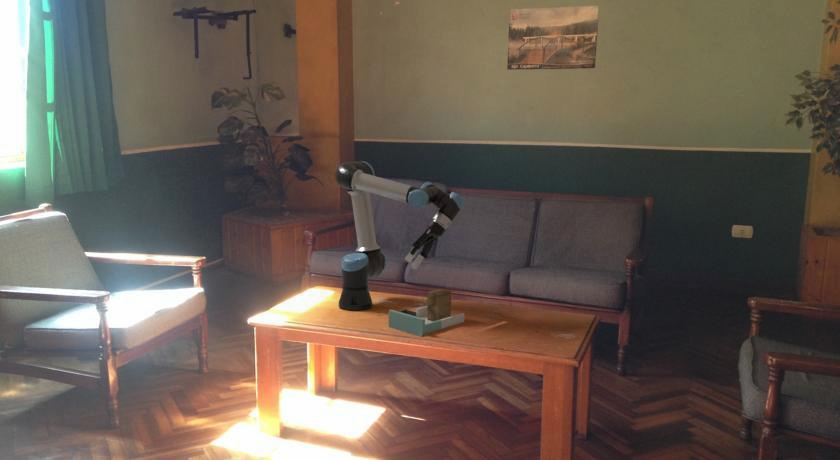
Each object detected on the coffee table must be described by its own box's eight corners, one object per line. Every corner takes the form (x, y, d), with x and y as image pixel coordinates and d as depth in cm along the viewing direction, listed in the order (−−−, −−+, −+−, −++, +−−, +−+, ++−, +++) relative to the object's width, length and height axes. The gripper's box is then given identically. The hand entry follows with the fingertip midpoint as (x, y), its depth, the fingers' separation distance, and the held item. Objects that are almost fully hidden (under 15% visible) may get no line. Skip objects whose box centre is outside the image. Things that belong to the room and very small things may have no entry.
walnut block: (427, 319, 299) (427, 291, 297) (440, 316, 305) (440, 288, 303) (437, 322, 295) (438, 294, 293) (450, 318, 300) (451, 291, 299)
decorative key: (412, 312, 324) (453, 310, 315) (411, 313, 323) (451, 311, 314) (410, 298, 324) (450, 295, 315) (409, 298, 323) (449, 296, 314)
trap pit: (390, 320, 302) (390, 313, 301) (405, 316, 308) (405, 309, 308) (400, 323, 297) (400, 316, 297) (416, 319, 304) (416, 312, 303)
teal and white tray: (388, 326, 292) (388, 310, 291) (430, 314, 310) (430, 299, 309) (422, 337, 279) (422, 319, 278) (464, 323, 297) (464, 307, 296)
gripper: (441, 221, 296) (411, 263, 294) (449, 236, 320) (422, 275, 318) (427, 211, 298) (397, 253, 296) (436, 227, 322) (408, 265, 320)
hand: (410, 264), depth 307 cm, fingers open, 13 cm apart
